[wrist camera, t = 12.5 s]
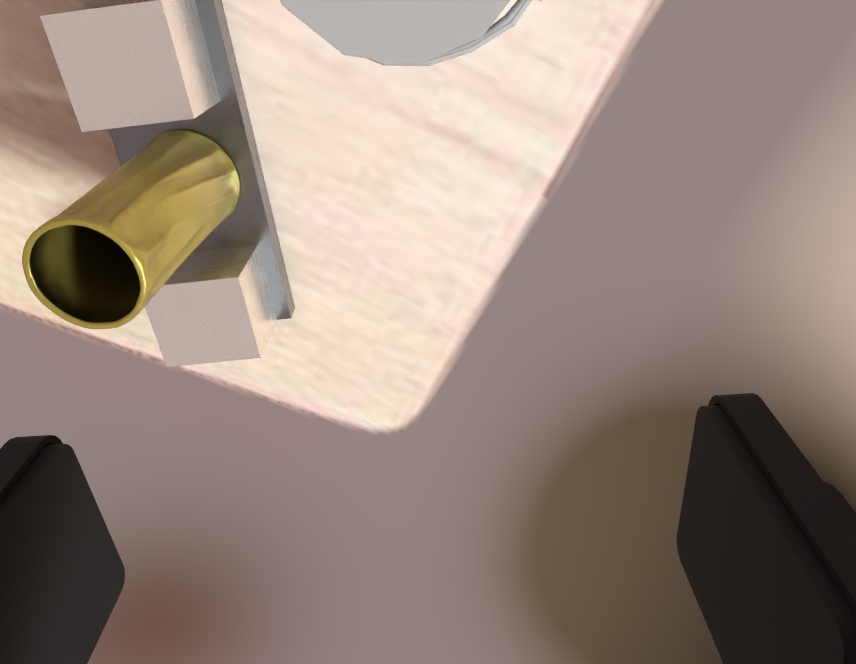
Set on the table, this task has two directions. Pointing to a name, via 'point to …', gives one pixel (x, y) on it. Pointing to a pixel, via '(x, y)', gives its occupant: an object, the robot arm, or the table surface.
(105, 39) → the rail board
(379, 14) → the water bottle
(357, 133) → the table surface
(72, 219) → the vase
